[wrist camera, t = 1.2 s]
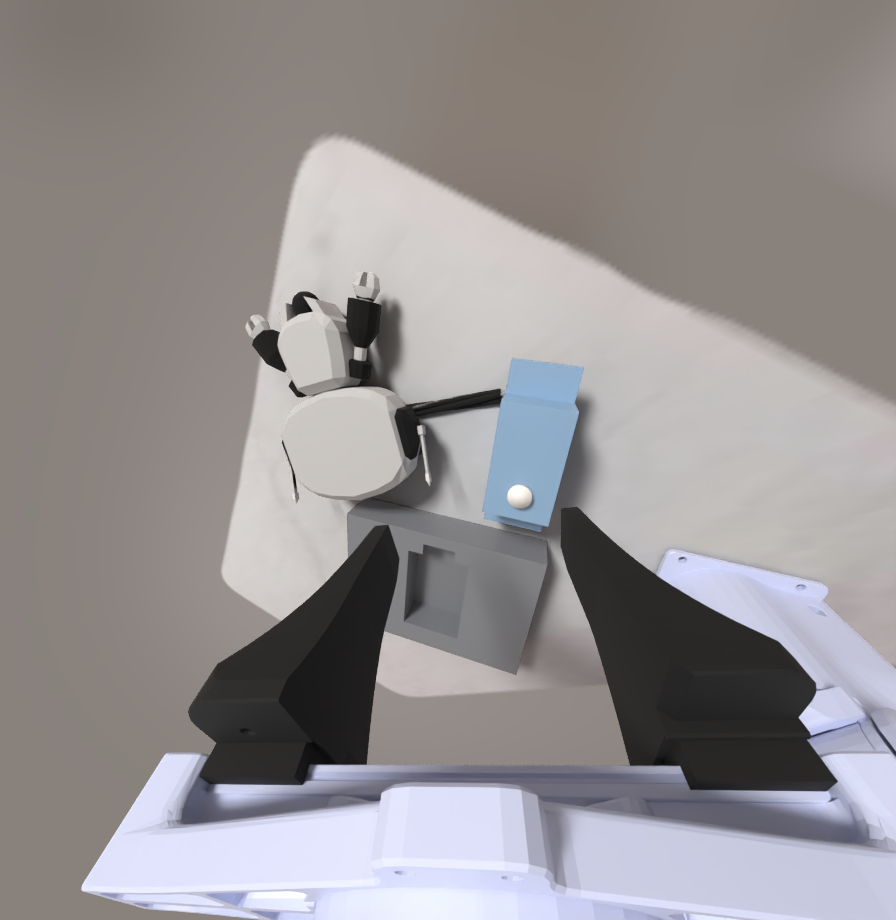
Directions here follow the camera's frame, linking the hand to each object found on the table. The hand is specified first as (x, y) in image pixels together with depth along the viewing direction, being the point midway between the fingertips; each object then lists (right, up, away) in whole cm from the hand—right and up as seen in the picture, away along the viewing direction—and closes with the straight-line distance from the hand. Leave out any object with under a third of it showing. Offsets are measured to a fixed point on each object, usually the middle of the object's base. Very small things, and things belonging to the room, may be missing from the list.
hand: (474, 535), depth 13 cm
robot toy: (-9, +8, +12) cm, 17 cm away
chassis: (-2, -7, +16) cm, 18 cm away
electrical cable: (-2, +7, +11) cm, 13 cm away
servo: (+5, +5, +10) cm, 12 cm away
